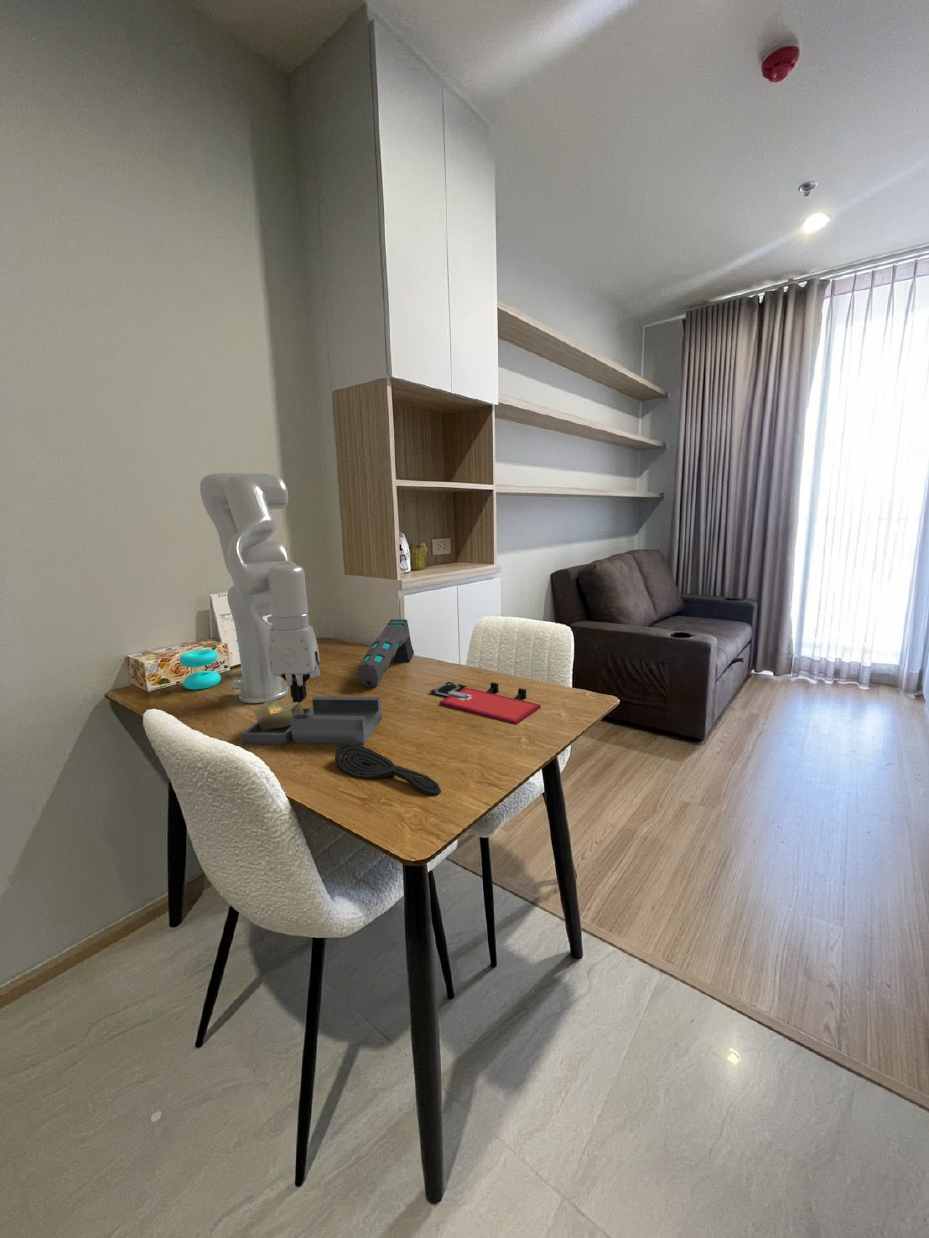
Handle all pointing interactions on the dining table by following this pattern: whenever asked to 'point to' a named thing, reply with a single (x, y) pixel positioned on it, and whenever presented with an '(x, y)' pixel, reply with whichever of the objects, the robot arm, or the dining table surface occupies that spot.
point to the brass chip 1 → (266, 714)
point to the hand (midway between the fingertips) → (299, 700)
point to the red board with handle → (487, 702)
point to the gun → (386, 652)
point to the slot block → (338, 720)
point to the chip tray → (269, 734)
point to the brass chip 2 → (286, 714)
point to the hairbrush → (379, 768)
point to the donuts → (204, 677)
